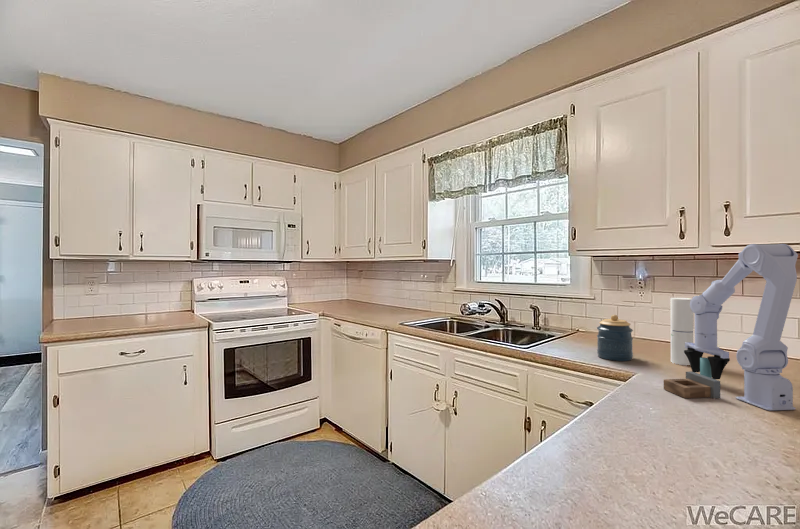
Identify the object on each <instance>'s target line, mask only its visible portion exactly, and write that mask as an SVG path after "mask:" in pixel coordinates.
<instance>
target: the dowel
mask: <svg viewBox="0 0 800 529" xmlns="http://www.w3.org/2000/svg"><path fill="white" fill-rule="evenodd" d="M699 374H701V375H704V376H707V377H710V378H712V375H711V366H710V362H709V360H708V357H705V356H704V357H703V356H702V357H701V358H700V372H699Z"/></svg>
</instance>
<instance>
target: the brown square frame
mask: <svg viewBox="0 0 800 529" xmlns="http://www.w3.org/2000/svg"><path fill="white" fill-rule="evenodd" d="M663 390H665V391H667V392H669V393H670V394H671V393H672V394H674V395H676V396H679V397H680V398H683V399H694V398H695V399H696V398H700V399H701V398H711V387H709V386H707V385H704V384H701V383H699V382H696V381H693V380H690V379H686V378H668V379H667V378H664V379H663Z"/></svg>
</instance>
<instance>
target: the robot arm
mask: <svg viewBox="0 0 800 529" xmlns="http://www.w3.org/2000/svg"><path fill="white" fill-rule="evenodd" d="M798 257H799V255H798V253H797V252H796V251H795V249H793V247H792V246H790V245H789V244H786V243H777V244H776V243H775V244H772V243H771V244H769V243H767V244H765V243H763V244H762V243H761V244H759V243H751V244H747V245H746V246H744V248H743V249H742V251H740V252H738V259H737V260H736V262H735V263H734V264H733V266H732V267H731V268H730V269H729V271H728V272H727V273H726V274H725V275H724V277H723V278H722V279H716V280H712V281H711V285H710V286H708V287H707V289H706V290H704V291H703V292H702V293H701V294H699V295H695V296H693V297H692V298H691V301H690V308H691V310H692V311H693V314H694V342H693V343H691V342H685V348H687V350H684V353H685V354H686V356H687V358H688V360H689V362H690V369H691V371H692V372H695V373H700V358H701V357H703V355H704V354H708V355H712V356H707V358H708V360H709V362H710V366H711V375H712V379H715V380H721V378H722V374H723V371H724V369H725V368H726V366H727V364H729V362H730V361H731V359H730V351H726V350H723V349H721V348H720V346H718V320H719V318H720V314H721V312H722V310H723V304H724V303H725V302H726V301H727V300H728V299H729V298H730V297H731V296H733V295H734V294H735V293H736V289H735V287H736V286H737V285H738V284H739V283H740V282H741V281H743V280H744V279H745V278H746V277H747V276H749V275H751V273H752V272H755V273H756V274H758V275H759V276H761V277H762V278H763V279H764V280H765V286H764V290H763V293H762V297H761V300H760V301H761V302H760V305H759V309H758V313H757V317H756V320H755V325H754V329H753V333H752V334H751V336H749V337H747V338H746V339H745V340H743V341H742V344H741V346H740V348H738V350H737V351H736V354H735V356H736V361H737V363H738V365H739V366H740V367H741V369H742V370H743V371H744V372H743V375H744V376H743V382H744V383H743V384H744V386H743V387H744V388H743V392H744V394H743V395H744V396H735V399H736V400H739V401H742V402H745V403H747V404H750V405H752V406H756V407H758V408H761V409H763V410H766V411H793V410H796V407H794V405H793V403H794V402H793V401H794V399H793V397H794V395H793V394H794V393H793V392H794V391H793V390H794V389H793V388H794V387H793V384H792V382H791V381H790V380H789V378H787V377H784V376H782V373H783V370H784V369H785V368H786V367H787V366H788V364H789V357H788V349H789V347H788V346H787V345H786V344H785V343H784V342H782V341H781V338H782V334H783V331H784V328H785V324H786V320H787V317H788V315H789V314H788V313H789V311H790V310H789V309H790V306H791V303H792V299H793V296H794V291H795V288H796V284H797V281H798V280H797V279H798V275H797V269H796V264H797V261H798Z"/></svg>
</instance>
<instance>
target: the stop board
mask: <svg viewBox="0 0 800 529" xmlns="http://www.w3.org/2000/svg"><path fill="white" fill-rule="evenodd" d="M685 379H690V380H693V381H696V382H699V383H701V384H704V385H707V386H709V387H711V397H710V399H713V398H720V399H721V380H719V379H712V378H710V377H707V376H704V375H701V374H700V373H699V372H692V370H691V371H685Z"/></svg>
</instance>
